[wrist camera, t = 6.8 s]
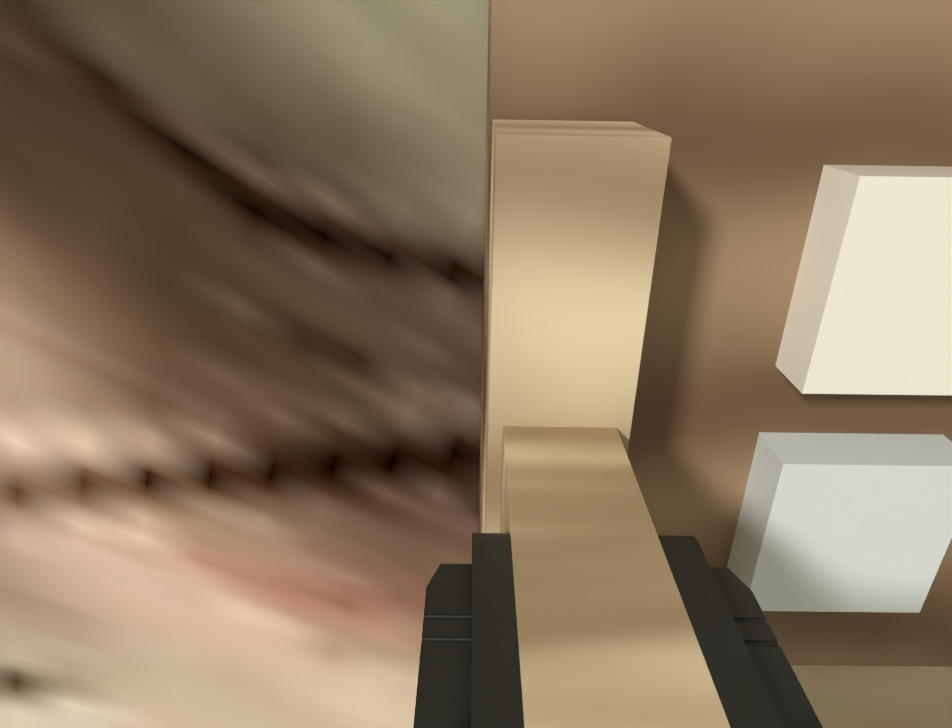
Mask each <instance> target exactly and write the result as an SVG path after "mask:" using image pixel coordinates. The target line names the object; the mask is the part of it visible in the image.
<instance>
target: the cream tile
mask: <svg viewBox="0 0 952 728" xmlns="http://www.w3.org/2000/svg"><path fill="white" fill-rule="evenodd" d="M775 366H776V367H777V368H778V369H779V370H780V371H781V372H782V373H783V374H784V375H785V376H786V378H787V379H788V380H789V381H790V382H791V383H792V384H793V385H794V386H795V387H796V388H797V389H798V390H799V391H800V392H801V393H802V394H872V395H952V167H944V166H875V165H824V166H823V170H822V175H821V179H820V183H819V187H818V191H817V195H816V199H815V204H814V208H813V212H812V216H811V220H810V224H809V228H808V233H807V237H806V241H805V245H804V249H803V253H802V257H801V262H800V266H799V270H798V274H797V278H796V282H795V286H794V291H793V295H792V299H791V303H790V307H789V311H788V315H787V320H786V324H785V328H784V332H783V336H782V340H781V344H780V349H779V353H778V357H777V361H776V365H775Z"/></svg>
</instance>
